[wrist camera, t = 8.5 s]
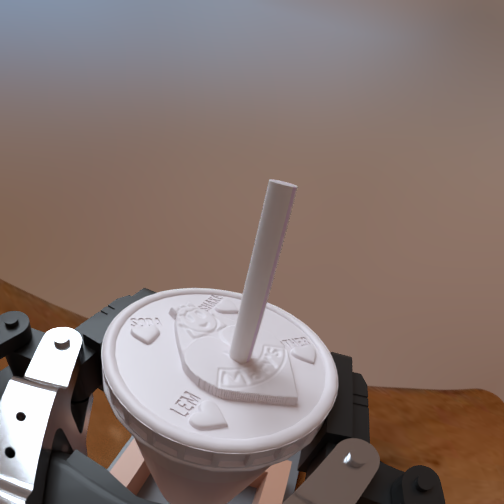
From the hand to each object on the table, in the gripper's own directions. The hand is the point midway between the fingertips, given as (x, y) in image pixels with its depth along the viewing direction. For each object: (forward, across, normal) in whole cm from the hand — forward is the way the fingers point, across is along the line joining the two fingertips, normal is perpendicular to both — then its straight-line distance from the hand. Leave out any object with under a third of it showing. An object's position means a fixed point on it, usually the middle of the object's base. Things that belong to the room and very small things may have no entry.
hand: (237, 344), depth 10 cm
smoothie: (-2, 0, +8) cm, 9 cm away
